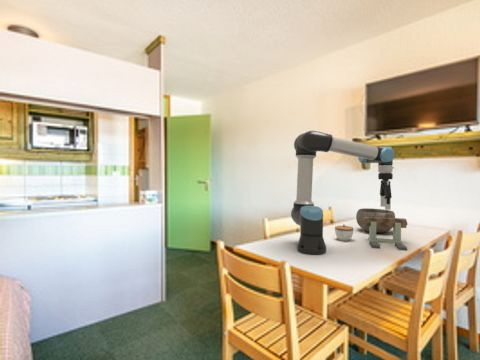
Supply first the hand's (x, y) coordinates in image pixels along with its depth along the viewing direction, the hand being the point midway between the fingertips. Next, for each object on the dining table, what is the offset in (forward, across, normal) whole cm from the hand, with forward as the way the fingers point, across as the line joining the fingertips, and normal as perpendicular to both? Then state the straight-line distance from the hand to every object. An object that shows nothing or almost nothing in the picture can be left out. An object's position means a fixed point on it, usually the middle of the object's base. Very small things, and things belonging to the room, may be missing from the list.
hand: (385, 208), depth 160 cm
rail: (+11, 0, 0) cm, 11 cm away
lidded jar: (+20, -3, +23) cm, 31 cm away
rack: (+20, 0, 0) cm, 20 cm away
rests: (+20, -13, +1) cm, 24 cm away
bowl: (+20, +26, +1) cm, 33 cm away
